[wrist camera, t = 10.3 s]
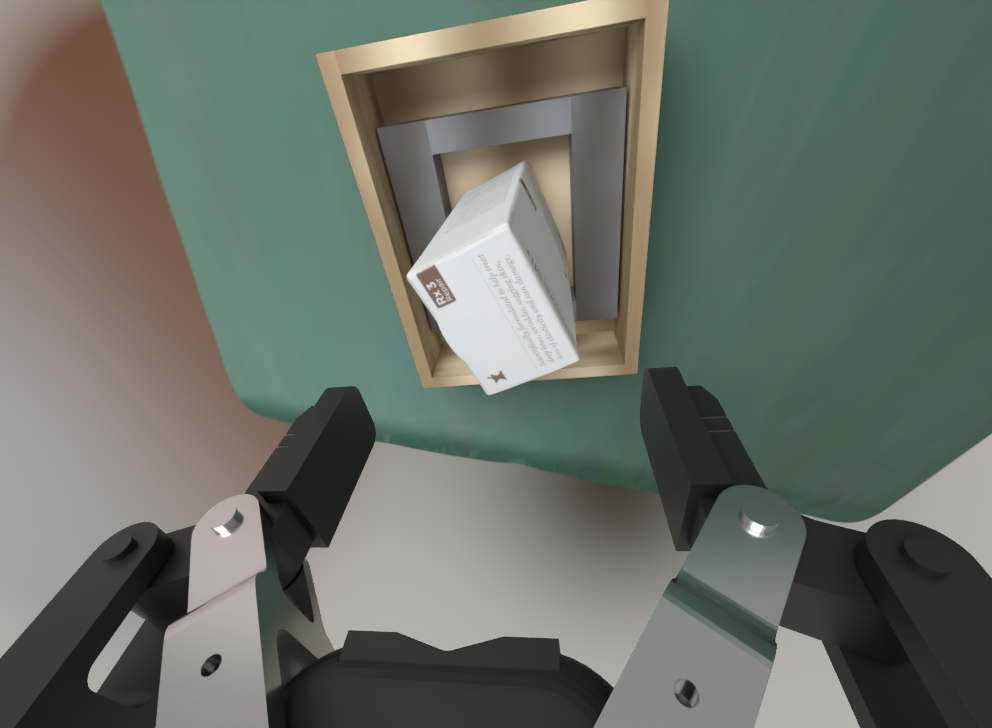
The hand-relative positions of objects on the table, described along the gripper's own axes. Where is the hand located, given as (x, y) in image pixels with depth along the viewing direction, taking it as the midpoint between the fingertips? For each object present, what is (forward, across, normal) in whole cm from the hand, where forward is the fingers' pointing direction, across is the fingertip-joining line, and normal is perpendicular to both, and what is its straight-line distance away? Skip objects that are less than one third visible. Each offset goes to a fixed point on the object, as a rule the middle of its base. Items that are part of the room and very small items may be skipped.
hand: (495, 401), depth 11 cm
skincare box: (+16, 0, 0) cm, 16 cm away
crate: (+17, 0, 0) cm, 17 cm away
